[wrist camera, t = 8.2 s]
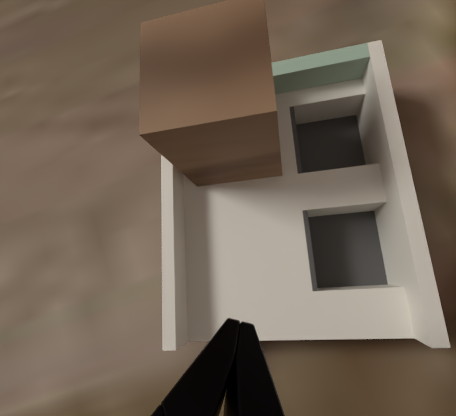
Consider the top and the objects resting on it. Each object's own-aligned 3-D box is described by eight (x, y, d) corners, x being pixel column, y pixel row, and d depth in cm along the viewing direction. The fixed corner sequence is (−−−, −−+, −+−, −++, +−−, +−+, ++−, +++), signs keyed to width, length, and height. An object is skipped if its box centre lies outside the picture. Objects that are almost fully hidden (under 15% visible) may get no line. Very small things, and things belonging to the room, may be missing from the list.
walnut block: (282, 175, 19) (276, 110, 11) (197, 186, 20) (139, 134, 12) (273, 96, 20) (263, -10, 12) (194, 111, 21) (140, 22, 14)
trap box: (408, 327, 18) (450, 347, 13) (192, 332, 21) (162, 350, 16) (361, 90, 22) (381, 39, 17) (185, 121, 25) (160, 86, 20)
